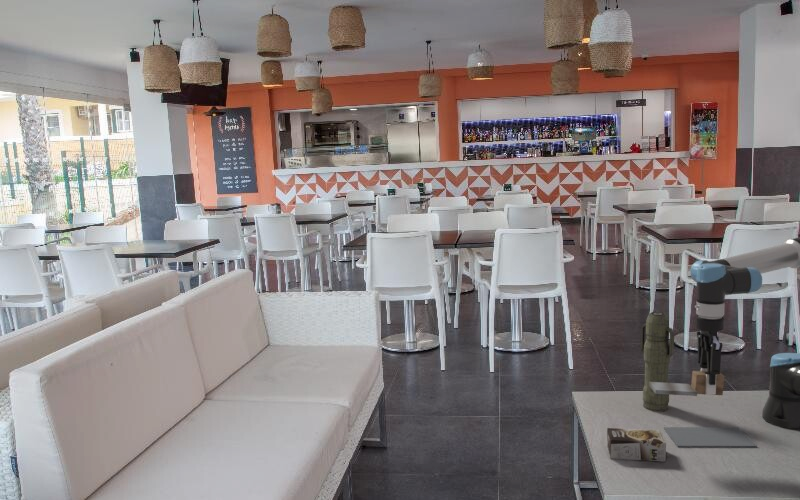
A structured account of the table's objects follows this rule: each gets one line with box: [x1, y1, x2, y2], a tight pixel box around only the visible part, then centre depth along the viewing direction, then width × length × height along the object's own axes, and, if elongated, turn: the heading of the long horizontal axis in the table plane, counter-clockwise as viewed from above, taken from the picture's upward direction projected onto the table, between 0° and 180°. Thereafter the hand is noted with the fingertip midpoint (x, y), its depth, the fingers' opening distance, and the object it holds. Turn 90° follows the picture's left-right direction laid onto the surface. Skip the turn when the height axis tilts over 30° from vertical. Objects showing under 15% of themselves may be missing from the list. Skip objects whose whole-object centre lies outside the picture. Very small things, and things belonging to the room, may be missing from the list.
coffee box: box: [606, 427, 667, 462], centre depth 202 cm, size 9×6×16 cm
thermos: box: [640, 311, 675, 413], centre depth 236 cm, size 9×12×35 cm
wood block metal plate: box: [649, 370, 725, 397], centre depth 197 cm, size 20×7×6 cm, turn 85°
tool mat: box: [663, 426, 758, 448], centre depth 212 cm, size 24×14×1 cm, turn 85°
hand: (707, 391), depth 197 cm, fingers closed on wood block metal plate, 3 cm apart
